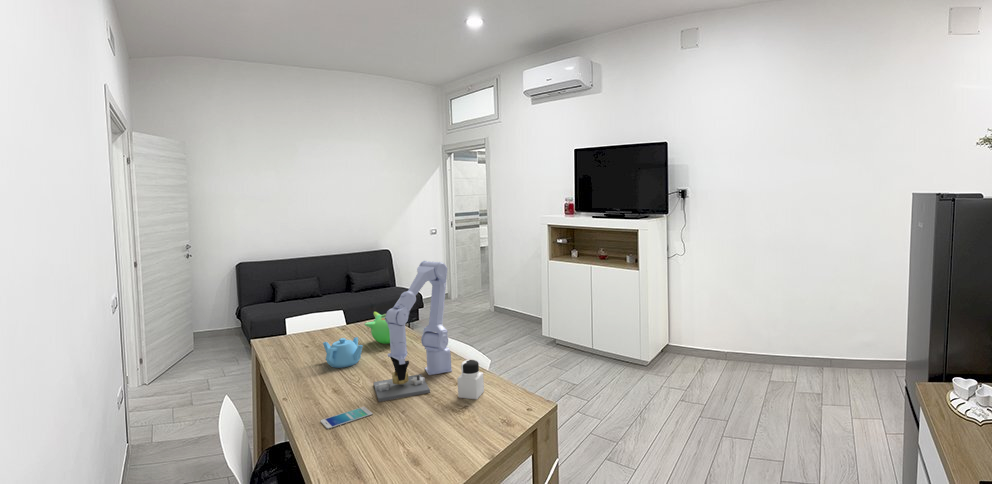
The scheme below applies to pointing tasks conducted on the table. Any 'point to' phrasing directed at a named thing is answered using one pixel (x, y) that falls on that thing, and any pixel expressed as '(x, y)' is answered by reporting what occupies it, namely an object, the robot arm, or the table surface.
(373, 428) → the table surface
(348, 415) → the smartphone
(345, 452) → the table surface
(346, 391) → the table surface
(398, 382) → the brass gear
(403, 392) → the gear board
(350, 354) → the teapot
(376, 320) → the toy bird
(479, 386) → the medicine bottle
